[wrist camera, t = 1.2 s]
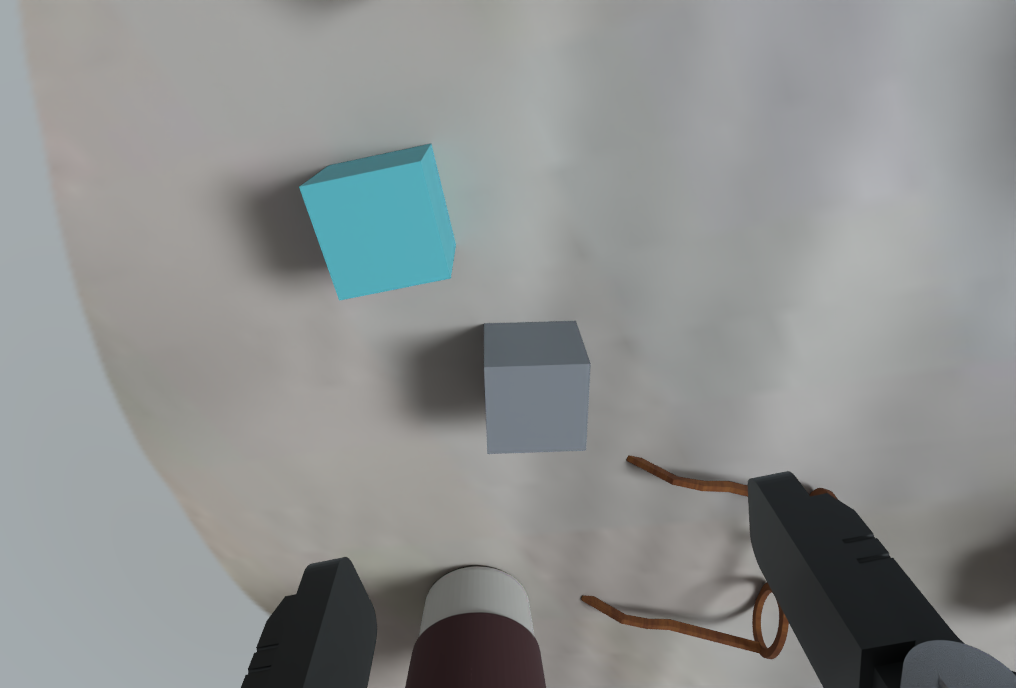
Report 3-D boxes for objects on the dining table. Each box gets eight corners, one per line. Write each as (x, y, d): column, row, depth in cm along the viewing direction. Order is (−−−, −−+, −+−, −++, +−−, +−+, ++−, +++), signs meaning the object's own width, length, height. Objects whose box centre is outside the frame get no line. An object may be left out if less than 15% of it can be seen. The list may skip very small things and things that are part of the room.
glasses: (750, 610, 43) (780, 674, 39) (579, 594, 42) (590, 659, 37) (821, 471, 37) (867, 527, 33) (626, 447, 36) (646, 503, 32)
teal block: (329, 165, 28) (298, 187, 23) (431, 143, 27) (420, 161, 23) (361, 263, 30) (339, 300, 25) (456, 244, 30) (450, 278, 25)
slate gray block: (484, 323, 32) (484, 367, 27) (575, 320, 32) (590, 364, 27) (487, 401, 34) (487, 453, 29) (572, 398, 34) (585, 450, 30)
